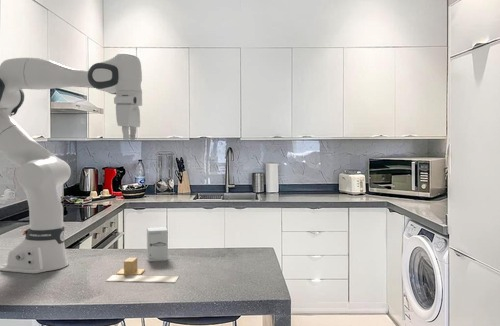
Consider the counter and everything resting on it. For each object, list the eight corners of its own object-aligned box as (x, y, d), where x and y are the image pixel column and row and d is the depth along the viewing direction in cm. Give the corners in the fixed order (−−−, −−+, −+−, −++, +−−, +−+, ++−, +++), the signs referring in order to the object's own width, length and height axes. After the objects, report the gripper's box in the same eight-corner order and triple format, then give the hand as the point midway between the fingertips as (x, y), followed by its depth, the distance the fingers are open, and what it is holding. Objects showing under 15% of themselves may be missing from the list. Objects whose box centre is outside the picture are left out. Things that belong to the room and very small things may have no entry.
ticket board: (102, 285, 146) (102, 280, 146) (116, 273, 159) (116, 269, 159) (177, 287, 145) (177, 282, 145) (185, 275, 158) (185, 270, 158)
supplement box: (147, 265, 170) (147, 231, 170) (146, 259, 177) (146, 227, 177) (168, 263, 172) (167, 229, 172) (166, 258, 179) (166, 226, 179)
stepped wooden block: (116, 275, 153) (116, 261, 153) (121, 270, 159) (121, 257, 158) (140, 275, 153) (140, 261, 152) (144, 270, 158) (144, 257, 158)
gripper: (127, 102, 173) (127, 139, 173) (112, 97, 152) (112, 139, 153) (144, 102, 173) (144, 139, 173) (131, 97, 152) (132, 140, 153)
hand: (129, 139), depth 163 cm, fingers open, 8 cm apart
